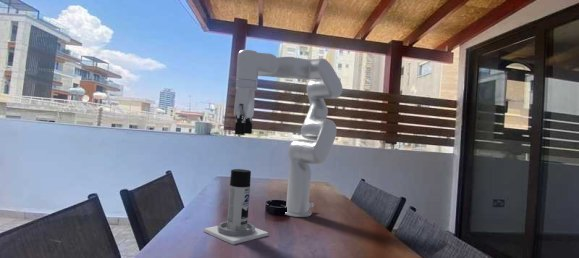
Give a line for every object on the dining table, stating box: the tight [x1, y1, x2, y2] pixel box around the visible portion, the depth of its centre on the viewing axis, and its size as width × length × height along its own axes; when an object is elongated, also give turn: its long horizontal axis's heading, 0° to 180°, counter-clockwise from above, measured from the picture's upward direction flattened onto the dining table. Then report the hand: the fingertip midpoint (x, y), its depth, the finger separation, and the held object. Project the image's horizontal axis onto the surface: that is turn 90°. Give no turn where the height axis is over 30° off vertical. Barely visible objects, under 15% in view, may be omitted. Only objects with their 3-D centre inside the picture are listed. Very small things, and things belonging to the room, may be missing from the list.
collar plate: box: [203, 220, 269, 245], centre depth 115 cm, size 15×15×2 cm
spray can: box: [226, 168, 252, 231], centre depth 115 cm, size 7×7×20 cm
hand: (243, 134), depth 124 cm, fingers open, 9 cm apart
